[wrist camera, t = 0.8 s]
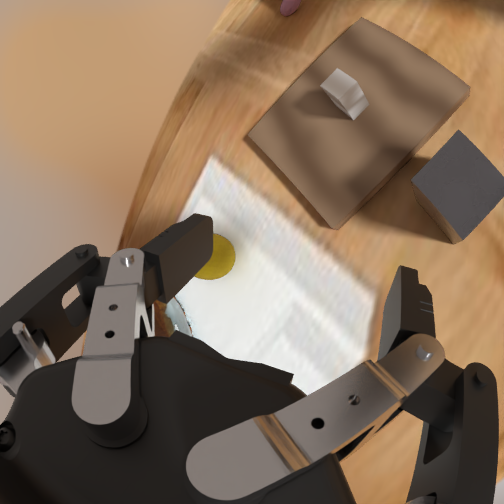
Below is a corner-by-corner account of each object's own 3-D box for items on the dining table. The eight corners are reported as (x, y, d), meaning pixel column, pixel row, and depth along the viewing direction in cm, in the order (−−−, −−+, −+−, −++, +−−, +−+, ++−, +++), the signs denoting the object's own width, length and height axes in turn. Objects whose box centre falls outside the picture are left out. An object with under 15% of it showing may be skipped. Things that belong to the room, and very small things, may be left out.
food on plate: (104, 309, 59) (78, 312, 54) (165, 247, 47) (131, 246, 42) (148, 421, 51) (123, 431, 46) (231, 398, 40) (200, 415, 34)
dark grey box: (416, 200, 27) (410, 179, 19) (452, 163, 24) (458, 129, 17) (453, 244, 25) (462, 240, 17) (490, 205, 22) (511, 186, 15)
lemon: (212, 237, 41) (168, 234, 35) (246, 232, 38) (202, 228, 32) (215, 278, 41) (170, 282, 34) (249, 276, 38) (205, 281, 31)
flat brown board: (365, 26, 28) (348, -9, 22) (469, 95, 22) (472, 60, 17) (256, 139, 37) (222, 121, 32) (338, 230, 32) (313, 224, 26)
